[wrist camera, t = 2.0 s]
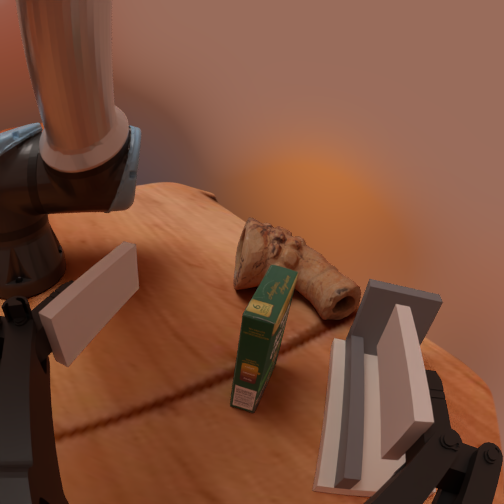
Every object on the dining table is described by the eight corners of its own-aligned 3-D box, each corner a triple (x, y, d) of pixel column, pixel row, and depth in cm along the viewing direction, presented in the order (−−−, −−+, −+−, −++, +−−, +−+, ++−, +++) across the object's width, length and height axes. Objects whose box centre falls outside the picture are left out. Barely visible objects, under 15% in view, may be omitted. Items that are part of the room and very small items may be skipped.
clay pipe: (276, 276, 60) (203, 265, 51) (300, 224, 57) (227, 203, 48) (341, 340, 45) (260, 344, 37) (376, 278, 42) (299, 264, 34)
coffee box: (254, 417, 29) (277, 322, 23) (227, 408, 30) (239, 310, 24) (277, 364, 36) (301, 269, 30) (253, 357, 37) (271, 261, 30)
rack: (312, 490, 22) (358, 435, 17) (331, 346, 39) (356, 274, 34) (427, 497, 20) (498, 441, 15) (414, 361, 38) (449, 295, 32)
